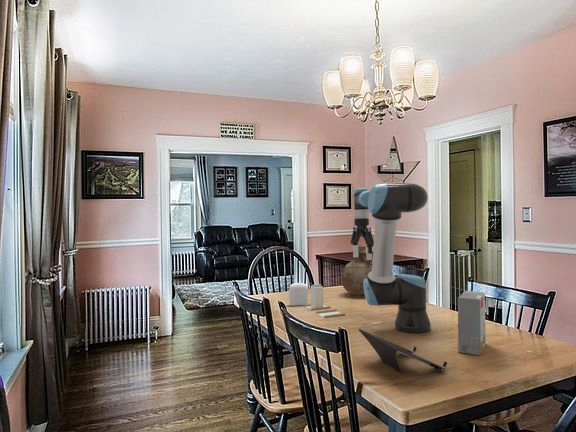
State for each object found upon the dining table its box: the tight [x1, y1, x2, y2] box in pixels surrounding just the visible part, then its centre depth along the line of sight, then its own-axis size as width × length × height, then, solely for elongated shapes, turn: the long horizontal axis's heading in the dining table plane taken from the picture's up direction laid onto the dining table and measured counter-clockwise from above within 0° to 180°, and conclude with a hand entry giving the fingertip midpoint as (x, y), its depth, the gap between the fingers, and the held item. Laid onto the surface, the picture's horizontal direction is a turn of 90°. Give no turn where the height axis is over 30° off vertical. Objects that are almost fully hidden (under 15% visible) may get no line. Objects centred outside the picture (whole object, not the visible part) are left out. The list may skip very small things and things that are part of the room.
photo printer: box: [288, 282, 309, 307], centre depth 226 cm, size 10×4×12 cm, turn 98°
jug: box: [340, 245, 372, 298], centre depth 248 cm, size 22×22×30 cm
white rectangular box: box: [310, 283, 325, 308], centre depth 214 cm, size 5×5×12 cm
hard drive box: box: [457, 290, 486, 356], centre depth 151 cm, size 16×8×20 cm, turn 148°
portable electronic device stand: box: [358, 328, 448, 374], centre depth 135 cm, size 23×23×9 cm
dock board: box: [303, 303, 346, 319], centre depth 207 cm, size 26×12×2 cm, turn 20°
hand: (362, 258), depth 212 cm, fingers open, 13 cm apart
